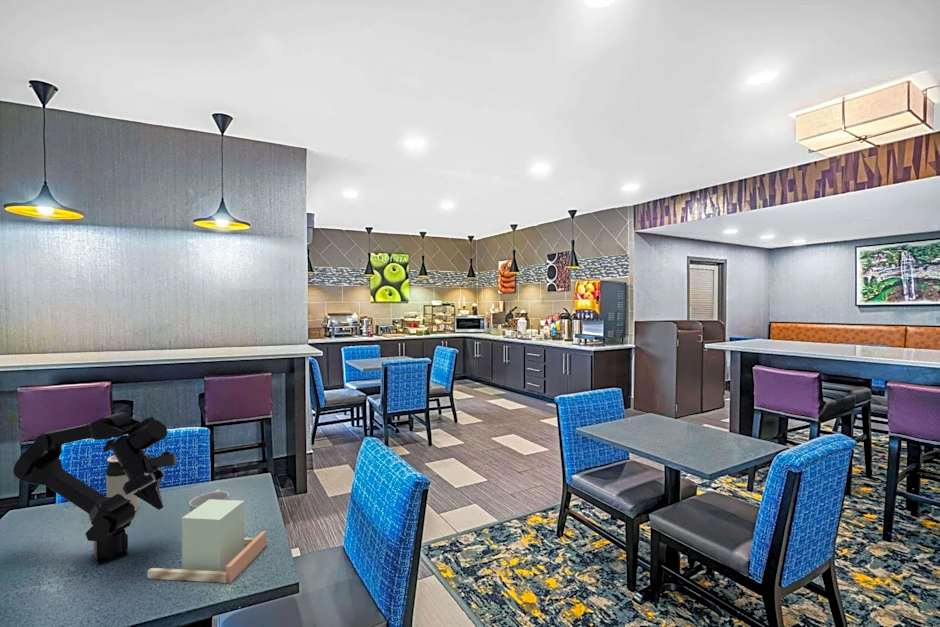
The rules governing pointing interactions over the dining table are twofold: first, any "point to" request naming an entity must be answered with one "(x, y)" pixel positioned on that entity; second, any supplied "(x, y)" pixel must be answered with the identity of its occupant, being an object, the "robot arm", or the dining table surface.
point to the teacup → (204, 497)
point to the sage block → (212, 535)
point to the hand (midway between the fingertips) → (161, 508)
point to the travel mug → (118, 481)
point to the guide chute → (232, 571)
